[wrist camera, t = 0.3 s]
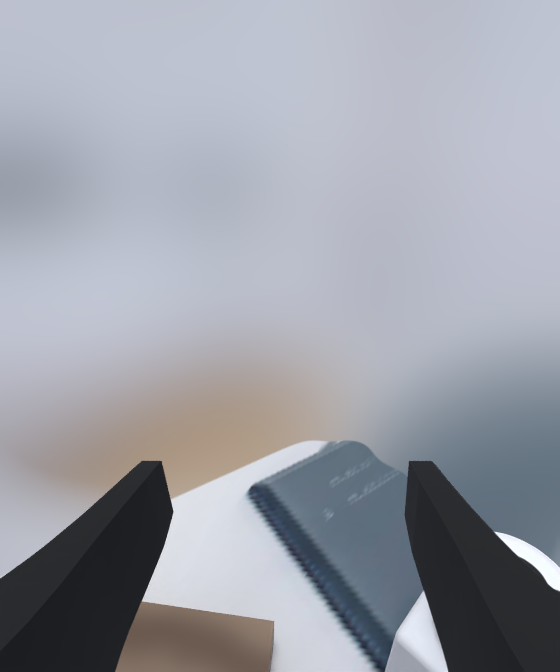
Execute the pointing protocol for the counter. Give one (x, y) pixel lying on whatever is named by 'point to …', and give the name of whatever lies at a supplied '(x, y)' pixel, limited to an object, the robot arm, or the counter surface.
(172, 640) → the button panel
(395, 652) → the medicine bottle
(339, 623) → the counter surface
